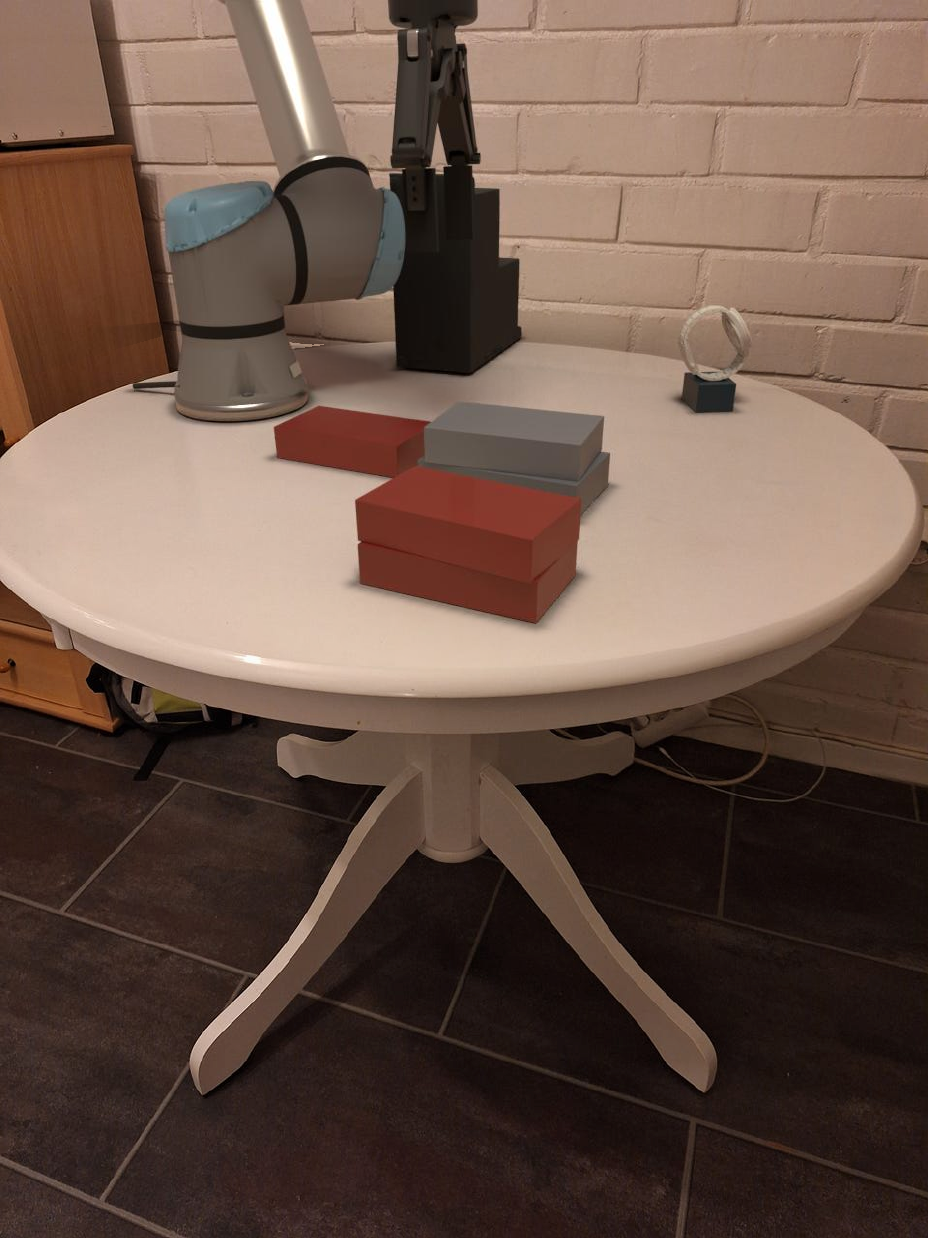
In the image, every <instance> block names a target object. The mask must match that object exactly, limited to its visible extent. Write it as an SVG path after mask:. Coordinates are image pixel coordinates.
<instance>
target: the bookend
mask: <svg viewBox="0 0 928 1238" xmlns="http://www.w3.org/2000/svg"><path fill="white" fill-rule="evenodd" d="M388 177H389V190H391V191H392V192H393V193H395V194H396V195H397V197H398V199H399V201H400V204H401V207H402V210H403V215H404V221H405V212H404V195H403V178H402V172H389V173H388ZM475 180H476V179H475V177H474V176H473V209H474V239H446V222H445V197H444V173H436V190H437V213H438V236H439V252H435V253H407V246H406V229H405V252H404V260H403V265H402V269H401V272H400V275H399V277H398V279H397V281H396V283H395V284H394V286H393V287H392V289H393V313H394V335H395V336H394V338H395V339H394V340H395V359H396V361H395V364H396V367H397V368H401V369H402V368H406V369H421V370H431V371H442V372H443V371H445V372H454V373H456V372H457V373H463V374H466V373H467V374H469V373H472V372H474V371H475V370H476V369H478V368H479V367H480V366H482V365H484V364H485V363H487V361H489V360H491V359H492V358H493V357H495V356H496V355H498V354H499V353H501V352H502V351H504V350H505V349H507V348H508V347H509V346H511V345H513V344H514V343H515V342H516V341H518V340H519V339H521V337H523V336H522V335H523V331H522V327H521V326H520V325H519V297H520V258H519V257H502V256H500V227H501V226H500V219H501V215H500V209H501V208H500V205H501V204H500V203H501V202H500V201H501V199H500V194H501V193H500V191H501V189H500V188H497V187H495V188H494V187H493V188H492V187H476V181H475Z"/></svg>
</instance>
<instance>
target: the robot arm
mask: <svg viewBox="0 0 928 1238" xmlns="http://www.w3.org/2000/svg"><path fill="white" fill-rule="evenodd" d="M217 1H218V2H219V3H221V4H223V5H225V7H226V9H227V13H228V16H229V19H230V22H231V25H232V28H233V33H234V35H235V38H236V41H237V45H238V47H239V51H240V55H241V57H242V60H243V63H244V66H245V70H246V74H247V77H248V80H249V83H250V86H251V89H252V92H253V96H254V98H255V101H256V105H257V108H258V112H259V115H260V118H261V121H262V124H263V127H264V130H265V133H266V137H267V140H268V143H269V147H270V150H271V153H272V156H273V160H274V162H275V165H276V168H277V173H278V175H279V178H278V179H277V181H276V182H275V184H274V186H273V189H272V186H271V184H269V182H268V181H263V180H246V181H240V182H229V183H222V184H216V185H211V186H205V187H201V188H196V189H192V190H189V191H186V192H183V193H180V194H178V195H177V194H176V196H174V197H171V199H169V201H167V204H166V205H165V207H164V209H163V210H164V211H163V221H164V232H165V245H164V246H165V251H166V252H167V253H168V259H169V265H170V272H171V277H172V284H173V291H174V298H175V302H176V309H177V316H178V322H179V327H180V334H181V345H180V346H181V347H180V353H179V359H178V365H177V380H174V381H173V380H172V381H150V382H148V381H147V382H133V384H132V389H134V390H142V389H143V390H144V389H161V388H164V389H166V388H174V392H173V394H174V400H175V401H174V402H175V406H176V407H175V408H176V410H177V411H178V412H179V413H180V414H182V415H184V416H187V417H189V418H193V419H197V420H203V421H212V422H241V421H242V422H243V421H254V420H261V419H267V418H272V417H278V416H281V415H284V414H288V413H291V412H293V411H295V410H297V409H300V408H302V407H303V406H305V404H306V403H307V402H308V399H309V395H308V385H307V384H308V383H307V381H306V378H305V376H304V375H303V370H302V368H301V365H300V363H299V361H298V360H297V358H296V355H295V352H294V349H293V347H292V345H291V343H290V340H289V338H288V335H287V331H286V320H285V307H286V306H297V305H305V304H306V305H307V304H316V303H326V302H335V301H345V300H346V301H347V300H355V301H358V300H359V301H360V300H363V299H364V298H367V297H374V296H378V295H379V296H380V295H383V294H385V293H387V292H389V291H390V290H391V289H393V286H394V284H395V283H396V281H397V279H398V277H399V275H400V272H401V269H402V265H403V260H404V252H405V229H406V246H407V253H435V252H439V236H438V213H437V190H436V174H437V172H436V171H437V169H436V167H431V166H432V163H433V162H432V161H433V154H434V148H435V141H436V135H437V129H438V131H439V135H440V140H441V143H442V148H443V153H444V157H445V162H446V164H447V165H446V166H445V165H444V166H443V167H442V170H443V171H442V172H443V174H444V197H445V222H446V239H474V209H473V177H474V175H473V173H474V172H473V165H480V164H481V160H482V155H481V152H479V151H478V150H479V149H478V148H479V147H478V146H477V137H476V130H475V129H476V128H475V122H474V113H473V105H472V97H471V89H470V80H469V71H468V55H467V54H468V48H467V45H466V43H465V42H463V43H462V42H461V43H457V36H456V30H457V28H458V27H466V26H470V25H471V24H474V23H475V22H476V21H477V19H478V17H479V2H478V0H387V10H388V20H389V22H390V23H391V25H392V26H394V27H396V28H399V29H398V30H397V35H396V40H397V75H396V88H395V101H394V115H393V116H394V117H393V132H392V143H391V145H392V146H391V155H390V157H389V160H390V161H389V163H390V166H391V169H396V170H397V169H401V173H402V178H403V195H404V212H405V221H404V215H403V210H402V207H401V204H400V201H399V199H398V197H397V195H396V194H395V193H393V192H392V191H391V190H390V188H389V189H388V188H385V187H384V186H381V187H379V188H376V187H374V184H373V180H372V177H371V175H370V170H369V167H368V166H367V165H366V163H365V162H364V161H363V160H361V159H360V158H358V157H356V156H354V155H351V153H350V151H349V147H348V145H347V141H346V138H345V135H344V132H343V129H342V126H341V123H340V120H339V116H338V114H337V113H338V112H337V110H336V107H335V103H334V101H333V97H332V94H331V91H330V88H329V85H328V82H327V79H326V76H325V72H324V68H323V67H322V63H321V60H320V57H319V53H318V49H317V47H316V44H315V41H314V38H313V35H312V31H311V28H310V25H309V22H308V19H307V15H306V13H305V10H304V7H303V3H302V0H217ZM400 28H401V29H400Z"/></svg>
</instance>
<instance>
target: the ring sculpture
mask: <svg viewBox="0 0 928 1238" xmlns="http://www.w3.org/2000/svg"><path fill="white" fill-rule="evenodd" d="M712 313H720V314H721V324H722V327H723V330H724V332H725V334H726V336H727V338H728V340H729V341H730V343H731V344H732V346H733V347H734V351H735V352H736V355H735V358H733V360H732V361H731V362H730V364H728V365H727V366H725V367H724V369H723V368H722V369H721V370H718V371H699V370H700V369H699V365H697V364H696V361H695V360H694V357H693V354H692V349H691V346H690V337H689V334H690V332H691V330H692V328H693V327H694V326H695V325H696V324H697V323H698V321H699V320H701V319H703V318H704V317H706V316H708V315H710V314H712ZM677 344H678V349H679V352H680V353H679V354H680V356H681V358H682V361H683V363H684V365H685V366H686V368H687V370H688V371H689V372H688V371H687V372H684V375H683V384H682V392H681V394H682V395H681V400H682V401H683V402H684V403H685V404H686V405H687V406H688V407H689V408H690V409H691V410H692V411H693V412H694V413H721V412H725V413H726V412H733V410H734V403H735V396H736V391H737V390H736V389H737V383H736V382H734V381H733V380H732V379H731V377H732V376H734V375H735V374H737V372H738V371H740V369H741V368H742V367H743V366H744V364H745V363H746V361H747V360H748V358H749V357H750V349H751V348H752V347H753V345H754V344H753V338H752V336H751V333H750V330H749V328H748V326H747V324H746V321H745V320H744V319H743V317H742V315H741V314H740V313H739V311H738V310H737V309H736V308H734V307H730V308H726V307H725V306H723V305H718V304H710V305H705V306H702V307H699V309H696V310H694V311H693V312H692V313H691V314H690V315H689V316H688V317H687V318H686V319H685V321H684V323H683V324H682V326H681V329H680V332H679V339H678V341H677Z"/></svg>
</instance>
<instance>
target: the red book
mask: <svg viewBox="0 0 928 1238" xmlns="http://www.w3.org/2000/svg"><path fill="white" fill-rule="evenodd" d="M430 422H431V421H429V420H423V419H416V418H408V417H401V416H394V415H388V414H387V415H386V414H380V413H372V412H366V411H358V410H354V409H353V410H352V409H345V408H338V407H331V406H323V405H316V406H315V407H313V408H310V409H308V410H307V411H304V412H302V413H300V414H298V415H296V416H294V417H292V418H290V419H287V420H285V421H283V422H281V423H279V424H276V425H274V426H273V433H274V434H273V435H274V443H275V451H276V458H279V459H284V460H290V461H295V462H302V463H307V464H313V465H319V466H324V467H329V468H337V469H342V470H347V471H354V472H358V473H359V472H360V473H365V474H371V475H377V476H382V477H389V478H392V479H393V478H395V477H396V476H398V475H400V474H402V473H403V472H405V471H407V470H409V469H411V468H412V467H414V466H418V460H419V459H420V458H422V457H423V456H425V446H424V427H425V426H426V425H428V424H429V423H430Z"/></svg>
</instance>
